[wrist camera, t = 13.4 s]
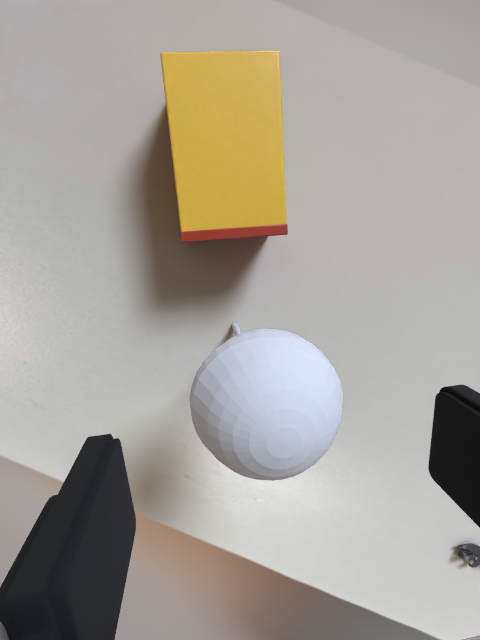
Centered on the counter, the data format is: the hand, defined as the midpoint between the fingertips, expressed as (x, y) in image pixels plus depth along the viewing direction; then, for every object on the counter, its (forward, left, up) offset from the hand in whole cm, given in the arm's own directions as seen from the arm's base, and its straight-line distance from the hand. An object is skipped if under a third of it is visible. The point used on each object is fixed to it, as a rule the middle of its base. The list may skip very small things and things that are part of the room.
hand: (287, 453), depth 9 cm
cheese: (-11, 0, -16) cm, 19 cm away
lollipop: (0, 0, -16) cm, 16 cm away
